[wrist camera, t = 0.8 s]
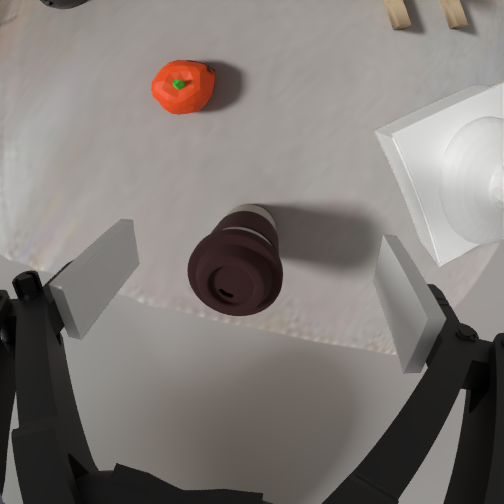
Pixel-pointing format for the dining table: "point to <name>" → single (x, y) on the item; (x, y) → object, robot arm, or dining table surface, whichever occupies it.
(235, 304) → the coffee cup
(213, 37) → the dining table surface
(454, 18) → the pair of wooden strips
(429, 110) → the butter dish
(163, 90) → the pumpkin
